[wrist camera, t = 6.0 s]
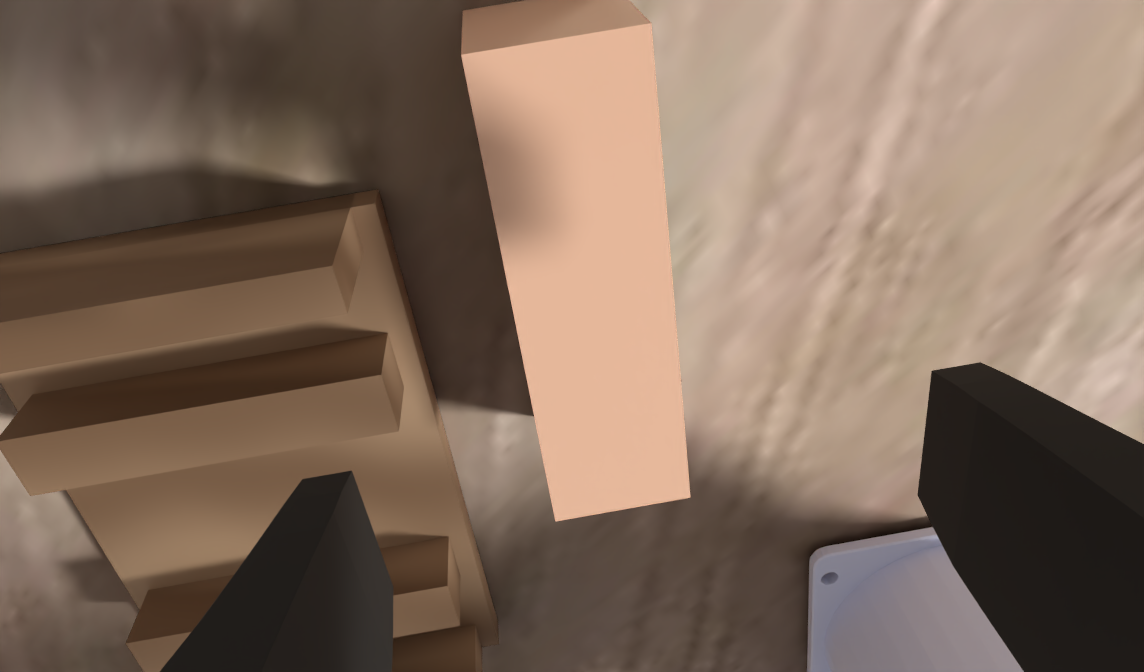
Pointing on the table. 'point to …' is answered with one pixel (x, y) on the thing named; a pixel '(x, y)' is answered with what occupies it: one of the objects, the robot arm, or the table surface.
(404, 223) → the table surface
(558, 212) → the peach rectangular block
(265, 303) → the rack
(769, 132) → the table surface
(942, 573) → the robot arm
